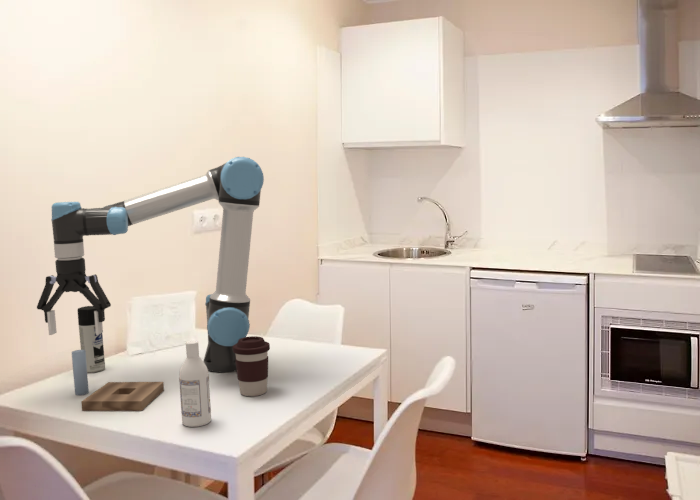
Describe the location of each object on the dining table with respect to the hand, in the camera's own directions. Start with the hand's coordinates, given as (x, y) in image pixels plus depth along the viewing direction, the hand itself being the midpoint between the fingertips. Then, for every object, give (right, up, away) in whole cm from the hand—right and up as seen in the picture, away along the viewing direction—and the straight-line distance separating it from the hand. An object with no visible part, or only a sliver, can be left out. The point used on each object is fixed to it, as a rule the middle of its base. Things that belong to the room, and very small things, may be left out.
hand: (76, 333), depth 189 cm
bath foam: (+39, -19, -24) cm, 49 cm away
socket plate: (+15, -17, -6) cm, 24 cm away
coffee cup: (+50, -16, -3) cm, 52 cm away
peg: (+1, -17, +1) cm, 17 cm away
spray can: (-4, -15, +24) cm, 28 cm away
